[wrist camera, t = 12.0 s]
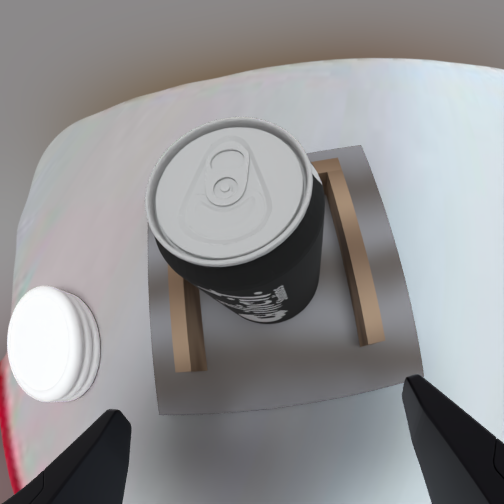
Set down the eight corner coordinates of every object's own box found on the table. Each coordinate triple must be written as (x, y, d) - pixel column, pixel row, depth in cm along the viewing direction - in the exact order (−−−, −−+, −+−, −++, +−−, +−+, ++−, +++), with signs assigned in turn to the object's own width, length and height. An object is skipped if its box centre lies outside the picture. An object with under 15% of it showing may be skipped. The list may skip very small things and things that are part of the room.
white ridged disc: (34, 293, 26) (10, 284, 23) (106, 293, 24) (81, 282, 21) (29, 390, 23) (3, 389, 19) (103, 410, 21) (76, 414, 18)
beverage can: (220, 325, 21) (120, 280, 10) (224, 233, 23) (151, 123, 12) (320, 324, 20) (335, 274, 8) (316, 228, 22) (315, 101, 11)
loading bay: (419, 376, 18) (441, 378, 14) (165, 413, 20) (137, 420, 16) (359, 152, 24) (365, 120, 21) (153, 194, 27) (132, 170, 23)
